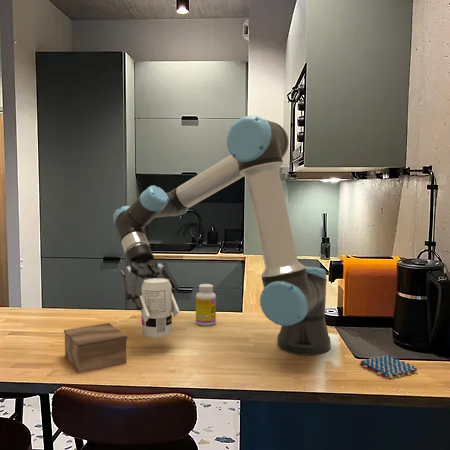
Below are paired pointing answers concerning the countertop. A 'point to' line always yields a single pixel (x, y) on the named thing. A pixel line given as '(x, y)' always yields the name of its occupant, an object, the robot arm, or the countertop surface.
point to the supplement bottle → (205, 305)
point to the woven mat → (388, 367)
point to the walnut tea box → (95, 347)
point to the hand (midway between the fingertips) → (162, 316)
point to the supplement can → (157, 307)
